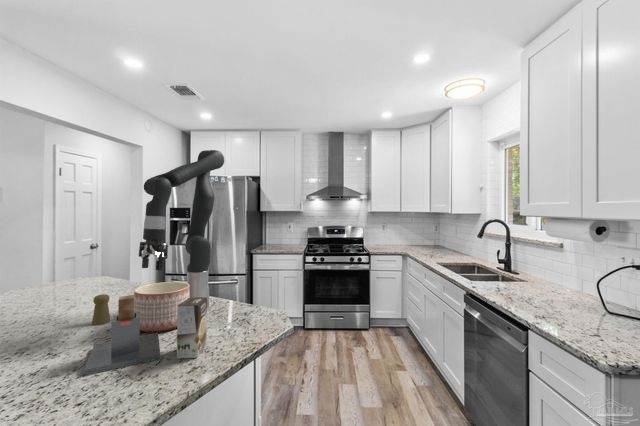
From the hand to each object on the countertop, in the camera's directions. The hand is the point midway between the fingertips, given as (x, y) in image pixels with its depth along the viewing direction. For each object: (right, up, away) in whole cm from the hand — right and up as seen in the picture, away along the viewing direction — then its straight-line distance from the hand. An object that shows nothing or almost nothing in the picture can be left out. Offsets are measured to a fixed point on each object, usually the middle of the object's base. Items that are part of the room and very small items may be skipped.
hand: (151, 269), depth 112 cm
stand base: (+5, -22, -23) cm, 32 cm away
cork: (-22, -22, +3) cm, 31 cm away
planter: (+4, -22, +1) cm, 23 cm away
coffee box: (+25, -22, -21) cm, 40 cm away
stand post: (+5, -20, -23) cm, 31 cm away
